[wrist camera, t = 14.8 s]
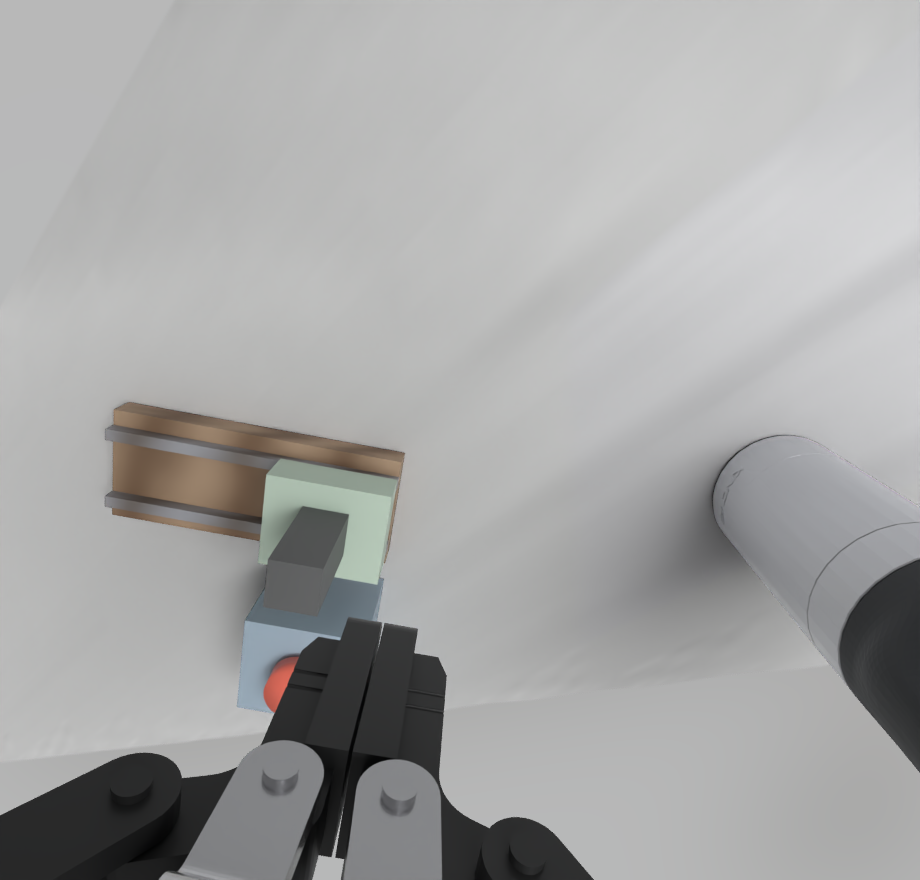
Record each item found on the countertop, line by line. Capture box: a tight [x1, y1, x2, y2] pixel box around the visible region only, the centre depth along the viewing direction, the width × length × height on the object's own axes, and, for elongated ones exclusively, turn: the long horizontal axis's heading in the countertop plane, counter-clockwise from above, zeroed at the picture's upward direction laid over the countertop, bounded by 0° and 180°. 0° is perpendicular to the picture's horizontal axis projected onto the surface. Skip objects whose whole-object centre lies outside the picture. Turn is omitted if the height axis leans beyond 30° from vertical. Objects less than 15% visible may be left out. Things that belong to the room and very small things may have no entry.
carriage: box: [258, 459, 397, 617], centre depth 39 cm, size 8×6×10 cm
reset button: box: [263, 657, 299, 713], centre depth 41 cm, size 4×4×2 cm
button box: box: [237, 577, 384, 714], centre depth 46 cm, size 8×7×8 cm
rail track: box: [105, 402, 405, 563], centre depth 46 cm, size 20×8×3 cm, turn 80°
